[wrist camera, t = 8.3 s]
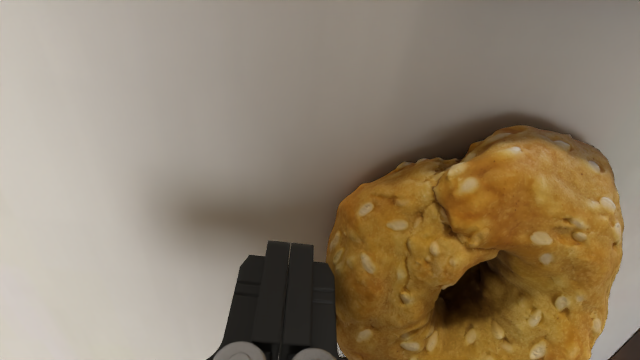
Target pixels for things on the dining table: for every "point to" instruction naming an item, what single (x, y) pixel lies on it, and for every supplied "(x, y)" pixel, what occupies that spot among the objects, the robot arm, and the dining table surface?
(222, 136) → the dining table surface
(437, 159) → the bagel
